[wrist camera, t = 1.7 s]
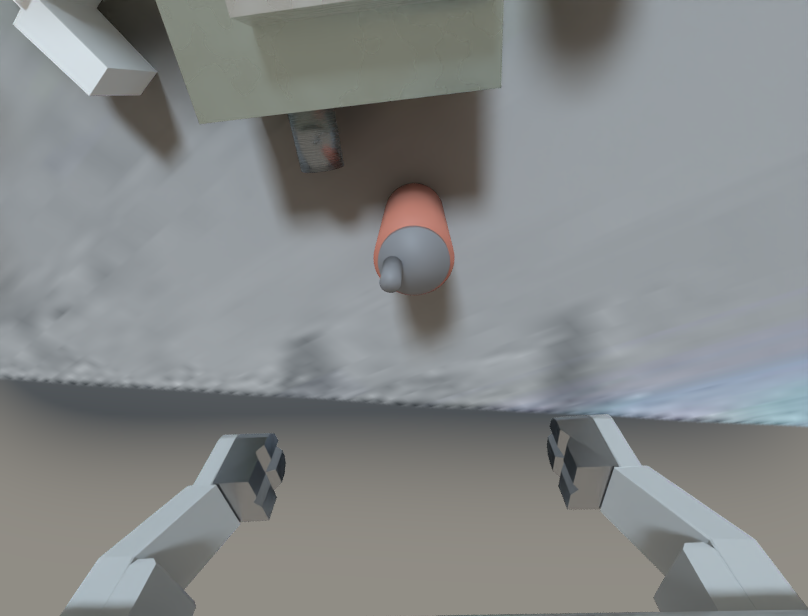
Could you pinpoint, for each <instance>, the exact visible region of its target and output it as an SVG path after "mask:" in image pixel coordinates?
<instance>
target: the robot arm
mask: <svg viewBox="0 0 808 616" xmlns="http://www.w3.org/2000/svg"><path fill="white" fill-rule="evenodd" d="M549 427H550V429H551V432H552V434H551V435H550V436H549V437H548V440H547V452H548V457H549V461H550V464H551V467H552V470H553V472H555V473H556V474H557V475H558V476H559V477H560V480H559V485H558V486H559V489H560V492H561V494H562V497H563V499H564V502H565V505H566V507H567V509H600V511H601V512H602V513H603V514H604V515H605V516H606V517H607V518H608V519H609V520H610V521H611V522H612V523H613V524H614V525H615V526H616V527H617V528H618V529H619V530H620V531H621V532H622V533H623V534H624V535H625V536H626V537H627V538H628V539H629V540H630V541H631V542H632V543H633V544H634V545H635V546H636V547H637V548H638V549H639V550H640V551H641V552H642V553H643V554H644V555H645V556H646V557H647V558H648V559H649V560H650V561H651V562H652V563H653V564H654V565H655V566H656V567H657V568H658V569H659V570H660V571H661V572H662V573H663V574H664V575H665V578H664V579H663V581H662V583H661V585H660V586H659V588H658V590H657V592H656V593H655V596H654V600H655V602H656V604H657V606H658V608H659V611H660V612H632V613H631V612H624V613H565V614H564V613H563V614H503V615H502V614H501V615H444V616H808V607H807V606H806V605H805V604H804V602H803V601H802V600H801V598H800V597H799V596H798V594H797V593H796V592H795V590H794V589H793V588H792V587H791V586H790V584H789V583H788V581H787V580H786V579H785V578H784V576H783V575H782V574H781V572H780V571H779V570H778V568H777V567H776V566H775V564H774V563H773V562H772V561H771V559H770V558H769V557H768V555H767V554H766V553H765V551H764V550H763V549H762V548H761V546H760V545H759V544H758V542H757V541H756V540H755V539H754V538H752V537H751V536H749V535H748V534H747V533H745V532H744V531H742V530H741V529H739V528H738V527H736V526H735V525H733V524H732V523H731V522H729V521H728V520H726V519H725V518H723V517H722V516H720V515H719V514H717V513H716V512H715V511H713V510H711V509H710V508H709V507H707V506H706V505H704V504H703V503H701V502H700V501H698V500H696V498H694V497H693V496H691V495H690V494H688V493H687V492H685V491H684V490H682V489H681V488H680V487H678V486H676V485H675V484H674V483H672V482H671V481H669V480H668V479H666V478H665V477H664V476H662V475H661V474H659V473H658V472H656V471H655V470H653V469H651V468H650V467H649V466H642V465H641V464H640V462H639V460H638V459H637V457H636V456H635V454H634V452H633V451H632V449H631V448H630V446H629V445H628V443H627V442H626V440H625V438H624V436H623V435H622V433H621V432H620V430H619V428H618V427H617V425H616V424H615V422H614V420H613V419H612V417H610V416H609V415H608V414H606V415H589V416H587V415H583V416H568V417H553V418H552V419H551V421H550V426H549ZM277 443H278V439H277V437H276V435H275V434H274V433H265V434H233V435H223V436H222V437H221V438H220V439H219V440H218V442H217V444H216V446H215V447H214V449H213V451H212V452H211V455H210V456H209V458H208V460H207V461H206V463H205V465H204V467H203V468H202V470H201V472H200V474H199V476H198V477H197V479H196V481H195V483H194V484H193V485H192V486H187V487H186V488H185V489H183V490H182V491H181V492H180V493H179V494H177V495H176V496H175V497H174V498H172V499H171V500H170V501H169V502H168V503H166V504H165V505H164V506H162V507H161V508H160V509H159V510H158V511H157V512H155V513H154V514H153V515H151V516H150V517H149V518H148V519H147V520H145V521H144V522H143V523H142V524H141V525H139V526H138V527H137V528H135V529H134V530H133V531H132V532H130V533H129V534H128V535H127V536H126V537H124V538H123V539H122V540H121V541H120V542H118V543H117V544H116V545H115V546H113V547H112V548H111V549H110V550H108V551H107V552H106V553H105V554H104V555H102V556H101V557H100V558H99V559H98V560H97V562H96V563H95V565H94V566H93V568H92V569H91V571H90V572H89V574H88V575H87V577H86V578H85V579H84V581H83V582H82V584H81V586H80V587H79V588H78V590H77V591H76V593H75V594H74V596H73V597H72V599H71V600H70V602H69V603H68V605H67V606H66V608H65V609H64V610H63V612H62V614H61V615H60V616H193V613H194V611H195V609H196V605H195V602H194V600H193V599H192V598H191V597H190V596H189V595H188V594H187V593H186V592H185V591H184V589H185V588H186V587H187V586H188V584H189V583H190V582H191V581H192V580H193V579H194V578H195V576H196V575H197V574H198V573H199V572H200V571H201V569H202V568H203V567H204V566H205V565H206V564H207V562H208V561H209V560H210V559H211V558H212V557H213V555H214V554H215V553H216V552H217V551H218V550H219V548H220V547H221V546H222V545H223V544H224V543H225V541H226V540H227V539H228V538H229V537H230V536H231V534H232V533H233V532H234V531H235V529H237V527H238V526H239V525H240V522H250V521H266V520H269V519H270V516H271V513H272V510H273V507H274V504H275V501H276V498H277V497H276V494H275V491H274V490H275V489H276V488H277V487H278V486H279V485H280V484H281V483H282V480H283V477H284V474H285V464H286V462H285V455H284V453H283V450H281V449H280V448H278V447H277ZM438 616H439V615H438ZM440 616H443V615H440Z"/></svg>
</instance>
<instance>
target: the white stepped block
mask: <svg viewBox="0 0 808 616" xmlns="http://www.w3.org/2000/svg"><path fill="white" fill-rule="evenodd" d="M13 1H14V2H15V3H16V4H17V5H18V6H19V7H20V8H21V9H20V11H19V13H18V15H17V17H16V19H15V21H14V23H13V25H14V26H15V27H16V28H17V29H19V30H20V31H21V32H22V33H23V34H24V35H25V36H26V37H27V38H28V39H29V40H30V41H31V42H32V43H33V44H34V45H36V46H37V47H38V48H39V49H40V50H41V51H42V52H43V53H44V54H45V55H46V56H47V57H48V58H49V59H50V60H52V61H53V62H54V63H55V64H56V65H57V66H58V67H59V68H60V69H61V70H62V71H63V72H64V73H65V74H66V75H68V76H69V77H70V78H71V79H72V80H73V81H74V82H75V83H76V84H77V85H78V86H79V87H80V88H81V89H82V90H84V91H85V92H86V93H87V94H88V95H89V96H131V95H141V94H142V92H143V91H144V90H145V88H146V87H147V86H148V84H149V83H150V81H151V80H152V79H153V77H154V76H155V74H156V73H157V71H156V70H155V69H154V68H153V67H152V66H151V65H150V64H149V63H148V62H147V60H146V59H145V58H144V57H143V56H142V55H141V54H140V53H139V52H138V51H137V50H136V49H135V48H134V47H133V46H132V45H131V44H130V43H129V42H128V41H127V40H126V39H125V37H124V36H123V35H122V34H121V33H120V32H119V31H118V30H117V29H116V28H115V27H114V26H113V25H112V24H111V23H110V22H109V21H108V20H107V19H106V18H105V17H104V16H103V14H102V13H101V12H100V11H99V10H98V9H97V7H98V5H99V4H100V2H101V0H13Z"/></svg>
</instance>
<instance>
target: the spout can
mask: <svg viewBox="0 0 808 616" xmlns="http://www.w3.org/2000/svg"><path fill="white" fill-rule="evenodd" d="M374 265H375V269H376V272H377V274H378V276H379V277H380V287H381V288H382V289H383V290H384V291H386V292H389V293H393V292H399V293H402V294H406V295H422V294H426V293H429V292H432V291H434V290H435V289H437V288H438V287H440V286H441V285H442V284H443V283H444V282H445V281H446V280H447V279H448V277H449V276H450V274H451V272H452V269H453V265H454V250H453V246H452V242H451V238H450V234H449V230H448V226H447V222H446V218H445V214H444V210H443V206H442V202H441V200H440V198H439V196H438V195H437V194H436V192H435V191H434V190H432V189H431V188H429V187H428V186H425V185H423V184H417V183H411V184H406V185H403V186H401V187H399V188H398V189H396V190H395V191H394V192H393V193H392V194H391V196H390V197H389V199H388V201H387V204H386V207H385V211H384V215H383V219H382V223H381V227H380V231H379V235H378V238H377V242H376V246H375V251H374Z"/></svg>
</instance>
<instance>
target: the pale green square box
mask: <svg viewBox="0 0 808 616" xmlns="http://www.w3.org/2000/svg"><path fill="white" fill-rule="evenodd" d="M156 3H157V6H158V9H159V12H160V14H161V17H162V20H163V23H164V26H165V28H166V31H167V34H168V37H169V40H170V42H171V45H172V48H173V51H174V54H175V56H176V59H177V62H178V65H179V68H180V71H181V73H182V76H183V79H184V82H185V85H186V87H187V90H188V93H189V96H190V99H191V101H192V104H193V107H194V110H195V113H196V115H197V118H198V121H199V124H204V123H213V122H221V121H229V120H237V119H246V118H254V117H262V116H271V115H279V114H287V113H288V117H289V122H290V126H291V130H292V134H293V138H294V142H295V147H296V151H297V155H298V159H299V163H300V167H301V171H302V172H305V173H313V172H322V171H328V170H333V169H337V168H340V167H343V166H344V162H343V156H342V151H341V145H340V140H339V134H338V129H337V123H336V118H335V112H334V108H337V107H345V106H354V105H362V104H370V103H379V102H387V101H395V100H404V99H412V98H420V97H428V96H437V95H445V94H453V93H462V92H470V91H478V90H487V89H495V88H501V70H502V37H503V5H504V0H156Z"/></svg>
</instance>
